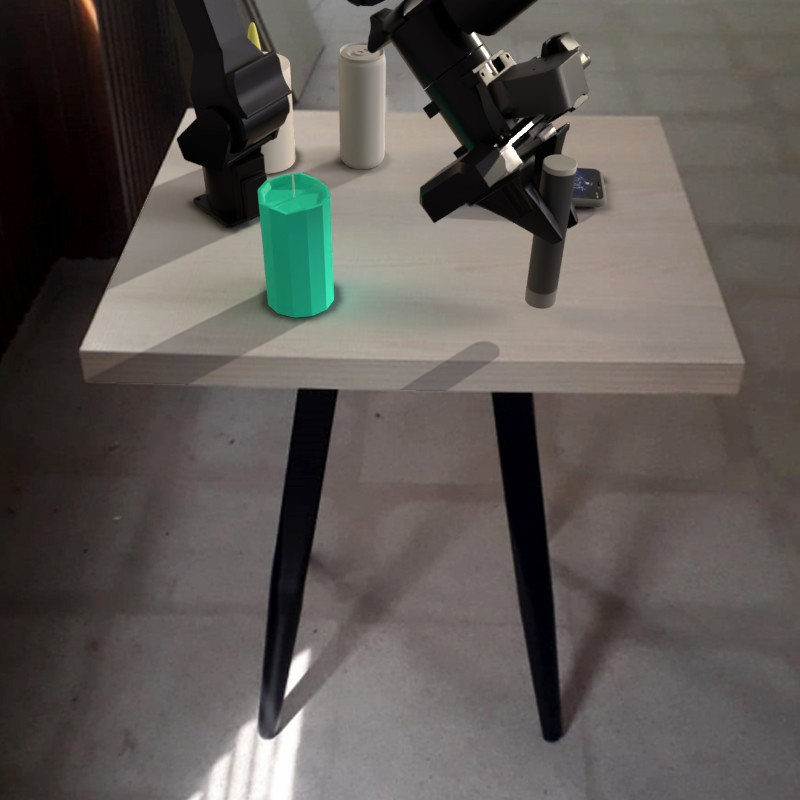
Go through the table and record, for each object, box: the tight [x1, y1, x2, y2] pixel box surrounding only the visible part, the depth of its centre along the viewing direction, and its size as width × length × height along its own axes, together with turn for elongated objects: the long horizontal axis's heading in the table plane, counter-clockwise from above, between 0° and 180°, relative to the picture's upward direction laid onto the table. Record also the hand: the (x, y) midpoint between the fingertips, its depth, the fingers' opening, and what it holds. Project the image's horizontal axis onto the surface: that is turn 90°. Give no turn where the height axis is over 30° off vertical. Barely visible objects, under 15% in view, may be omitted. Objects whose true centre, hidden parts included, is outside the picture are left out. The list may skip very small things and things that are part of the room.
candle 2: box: [258, 172, 335, 318], centre depth 80 cm, size 6×6×12 cm
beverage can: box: [337, 41, 387, 170], centre depth 99 cm, size 5×5×12 cm
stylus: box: [524, 154, 578, 310], centre depth 77 cm, size 3×3×13 cm
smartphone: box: [572, 167, 608, 208], centre depth 99 cm, size 7×1×15 cm
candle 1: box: [247, 22, 296, 175], centre depth 98 cm, size 6×6×15 cm
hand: (566, 234), depth 77 cm, fingers closed on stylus, 2 cm apart
